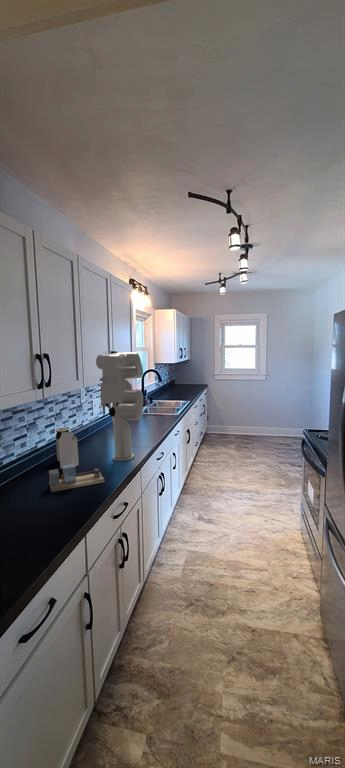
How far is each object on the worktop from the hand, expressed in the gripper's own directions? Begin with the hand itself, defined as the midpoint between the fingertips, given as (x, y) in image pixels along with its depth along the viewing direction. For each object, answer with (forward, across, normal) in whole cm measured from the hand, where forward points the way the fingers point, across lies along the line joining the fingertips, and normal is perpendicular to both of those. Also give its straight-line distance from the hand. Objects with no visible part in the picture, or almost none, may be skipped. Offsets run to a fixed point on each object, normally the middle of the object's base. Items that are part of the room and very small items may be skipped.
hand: (112, 416), depth 175 cm
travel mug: (+29, -21, +34) cm, 50 cm away
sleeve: (+27, -23, -6) cm, 36 cm away
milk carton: (+29, -20, +20) cm, 41 cm away
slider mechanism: (+29, -20, -6) cm, 36 cm away
